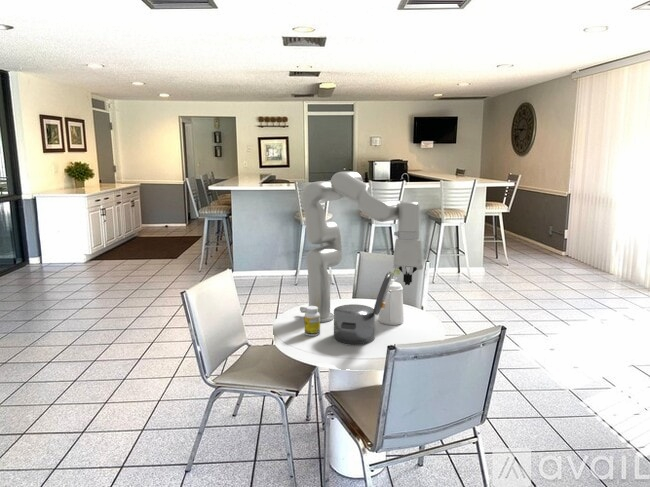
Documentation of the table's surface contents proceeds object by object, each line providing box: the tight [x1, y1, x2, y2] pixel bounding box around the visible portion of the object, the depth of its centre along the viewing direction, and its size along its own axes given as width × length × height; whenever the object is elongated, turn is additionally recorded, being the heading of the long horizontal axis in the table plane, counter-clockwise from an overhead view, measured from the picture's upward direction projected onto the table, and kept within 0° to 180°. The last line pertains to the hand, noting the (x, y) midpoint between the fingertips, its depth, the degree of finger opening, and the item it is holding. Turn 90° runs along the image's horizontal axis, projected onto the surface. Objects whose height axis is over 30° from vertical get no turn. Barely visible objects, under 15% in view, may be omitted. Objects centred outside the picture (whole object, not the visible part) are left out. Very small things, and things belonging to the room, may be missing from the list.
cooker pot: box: [333, 303, 376, 346], centre depth 186 cm, size 16×21×11 cm
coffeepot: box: [377, 279, 405, 326], centre depth 202 cm, size 11×25×19 cm, turn 168°
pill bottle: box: [304, 305, 321, 337], centre depth 189 cm, size 6×6×11 cm
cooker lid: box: [373, 272, 393, 316], centre depth 180 cm, size 17×17×3 cm
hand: (407, 284), depth 176 cm, fingers closed
